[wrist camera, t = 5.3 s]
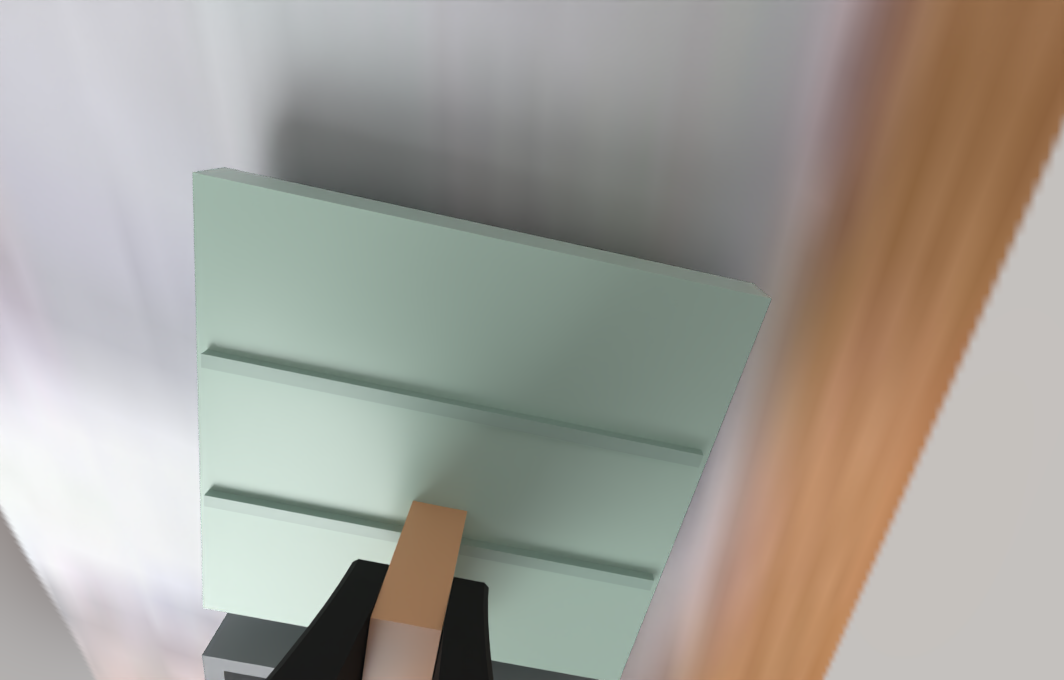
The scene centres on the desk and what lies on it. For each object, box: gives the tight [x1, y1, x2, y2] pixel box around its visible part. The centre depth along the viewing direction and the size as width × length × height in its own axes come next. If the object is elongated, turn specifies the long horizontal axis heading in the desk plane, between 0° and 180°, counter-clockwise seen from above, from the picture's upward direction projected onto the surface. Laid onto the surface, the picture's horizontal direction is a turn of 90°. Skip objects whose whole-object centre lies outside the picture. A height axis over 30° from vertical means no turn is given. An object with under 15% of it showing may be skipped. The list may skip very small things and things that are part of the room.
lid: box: [193, 167, 771, 680], centre depth 11 cm, size 10×10×5 cm
